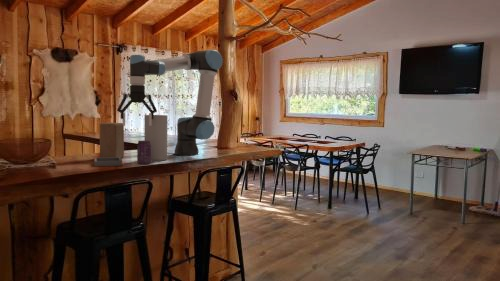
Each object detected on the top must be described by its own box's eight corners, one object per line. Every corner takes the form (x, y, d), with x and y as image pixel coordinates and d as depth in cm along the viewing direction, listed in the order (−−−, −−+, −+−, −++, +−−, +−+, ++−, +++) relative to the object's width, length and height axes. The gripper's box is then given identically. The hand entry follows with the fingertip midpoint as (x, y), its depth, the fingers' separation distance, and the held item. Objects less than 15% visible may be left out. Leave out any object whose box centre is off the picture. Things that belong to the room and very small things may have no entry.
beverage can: (139, 162, 216) (139, 140, 215) (152, 162, 216) (152, 140, 215) (135, 164, 209) (135, 141, 208) (149, 164, 209) (149, 141, 208)
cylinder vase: (152, 162, 219) (152, 116, 216) (140, 159, 227) (140, 115, 224) (171, 159, 228) (171, 115, 225) (158, 157, 236) (158, 114, 234)
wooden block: (115, 159, 222) (115, 123, 220) (99, 159, 224) (98, 123, 222) (124, 157, 232) (124, 123, 230) (108, 156, 234) (108, 122, 232)
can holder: (120, 161, 216) (120, 157, 216) (122, 165, 204) (122, 160, 204) (94, 162, 211) (94, 157, 211) (94, 166, 199) (94, 161, 199)
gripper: (159, 86, 219) (159, 125, 221) (111, 84, 208) (111, 125, 210) (162, 85, 212) (162, 125, 214) (113, 83, 201) (113, 125, 203)
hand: (137, 125), depth 212 cm, fingers open, 13 cm apart
